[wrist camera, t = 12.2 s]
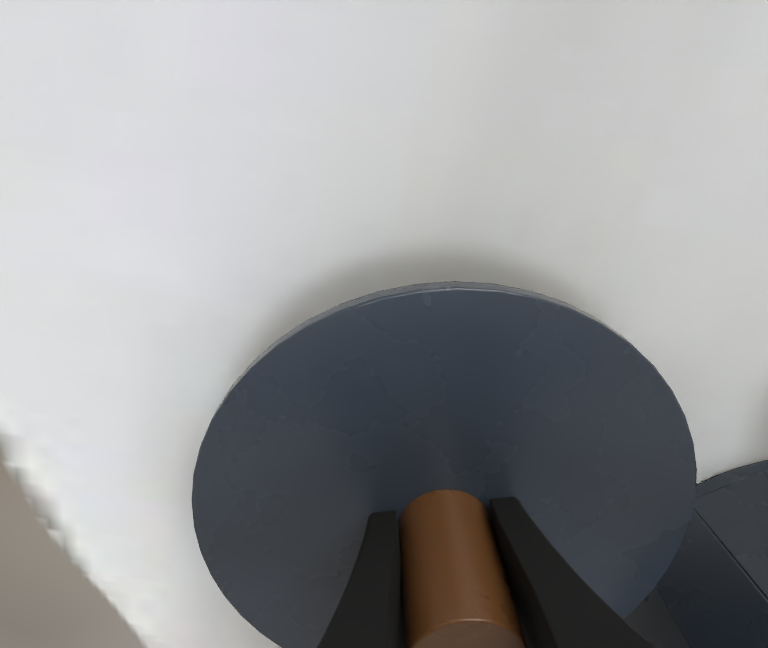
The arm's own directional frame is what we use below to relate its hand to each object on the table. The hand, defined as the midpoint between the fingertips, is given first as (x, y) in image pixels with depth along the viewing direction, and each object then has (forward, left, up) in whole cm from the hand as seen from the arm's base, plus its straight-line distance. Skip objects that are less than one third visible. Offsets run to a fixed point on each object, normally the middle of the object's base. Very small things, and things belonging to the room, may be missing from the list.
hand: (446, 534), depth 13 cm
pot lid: (0, 0, -1) cm, 1 cm away
